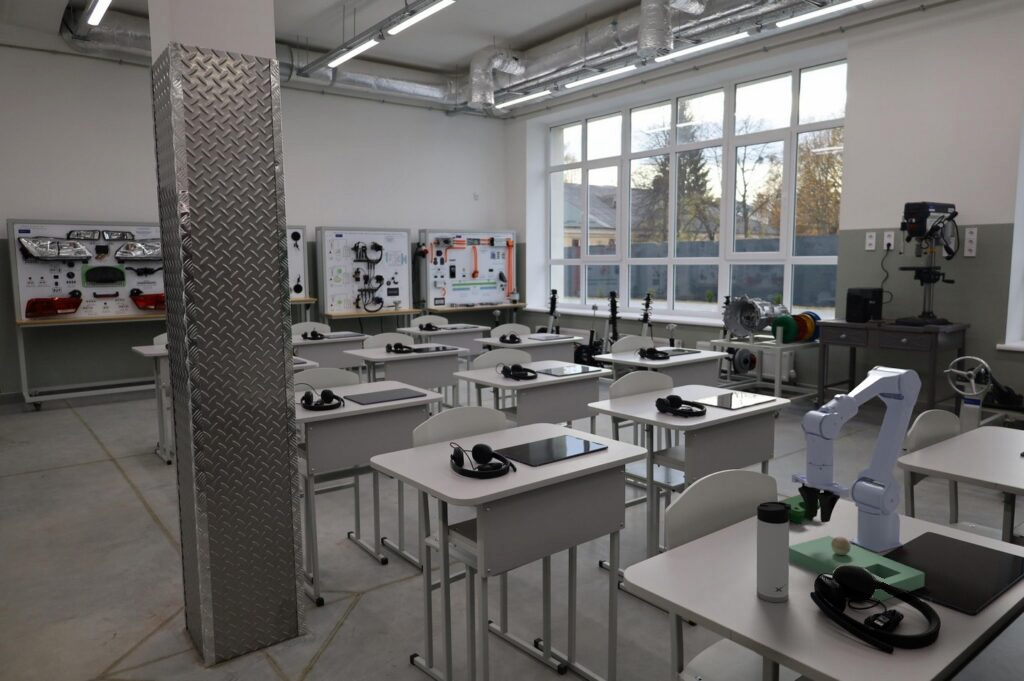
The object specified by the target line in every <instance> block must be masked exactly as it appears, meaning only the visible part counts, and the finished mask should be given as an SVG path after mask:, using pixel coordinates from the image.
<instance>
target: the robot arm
mask: <svg viewBox="0 0 1024 681" xmlns="http://www.w3.org/2000/svg"><path fill="white" fill-rule="evenodd" d="M866 374H867V376H866V378H865V379H864V380H862V381H861V383H860V384H859V385H857V386H856V387H855V388H853V390H851V392H849V393H848V394H844V393H841V394H835V395H834V396H833V399H831V400H830V401H829V402H827V403H826V404H824V405H822V406H820V407H819V409H818V410H810V411H808V412H806V413H805V415H804V416H803V418H802V422H800V428H801V431H802V432H803V434H804V440H805V442H806V453H805V454H806V461H805V463H806V465H805V466H806V467H805V468H806V472H805V473H804V474H803V473H799V472H796V473H791V482H792V483H798V484H802V485H801V486H798V488H797V491H798V493H799V495H800V494H801V496H802V498H803V500H804V503H805V506H806V509H807V513H808V517H810V518H812V517H814V518H816V517H817V516H818V511H819V510H820V522H822V523H824V524H825V523H828V522H830V521H831V517H832V514H833V511H834V509H835V506H836V505H837V502H838V501H839V499H840V498H841V499H846V498H849V497H850V499H851V500H852V501H853V502H854V503H855V504H854V506H855V507H857V527H856V528H857V535H856V537H854V538H850V539H849V540H848V541H849V543H850V544H853V545H856V546H858V547H862V548H863V549H866V550H867V549H868V550H870V551H871V552H872V551H873V552H874V553H875V552H876V553H880V552H883V551H888V550H891V549H894V548H898V547H901V546H903V544H904V543H903V542H900V534H901V533H900V528H901V519H900V516H899V514H898V512H897V509H898V507H899V505H900V501H901V496H900V493H901V488H902V485H901V483H900V482H899V481H898V479H897V478H896V477H895V475H894V472H895V470H896V466H897V462H898V459H899V456H900V453H901V450H902V447H903V444H904V440H905V437H906V434H907V430H908V427H909V423H910V420H911V416H912V413H913V410H914V406H916V403H917V400H918V396H919V393H920V391H921V388H922V387H921V386H922V381H921V379H920V376H919V374H918V373H917V372H916V371H915V370H914V369H902V368H893V367H887V366H883V365H876V366H874V367H873V368H872V369H871V370H869V371H868V372H867V373H866ZM876 396H877V397H878V398H879V399H880V400H881V401H883V402H884V403H885V405H886V410H885V414H884V418H883V421H882V424H881V426H880V427H881V428H880V429H879V434H878V438H877V440H876V443H875V447H874V450H873V453H872V457H871V460H870V463H869V465H868V466H869V467H867V468H864V469H861V471H858V472H857V476H856V478H855V479H854V481H853V482H852V483H851V486H850V487H847V486H843V485H842V484H840V483H838V482H836V481H834V438H836V437H837V436H838V435H839V432H840V431H841V428H842V427H843V425H844V424H845V423H846V422H848V421H849V420H850V419H852V418H853V417H854V416H856V415H857V414H858V413H859V407H860V406H861V405H863V404H864V403H866V402H867V401H870V400H871V399H873V398H874V397H876ZM878 482H879V483H878ZM822 491H823V492H822ZM818 501H819V503H820V509H818Z"/></svg>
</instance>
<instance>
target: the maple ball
mask: <svg viewBox="0 0 1024 681" xmlns="http://www.w3.org/2000/svg"><path fill="white" fill-rule="evenodd" d="M833 538H834V539H833V540H832V542H831V547H832V550H833V551H834V552H835V553H836V554H838V555H846V554H847V553H849V551H850V548H851V546H850V544H851V542H849V540H848V539H847V538H845V537H842V536H836V537H833Z"/></svg>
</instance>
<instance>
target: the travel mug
mask: <svg viewBox="0 0 1024 681" xmlns="http://www.w3.org/2000/svg"><path fill="white" fill-rule="evenodd" d="M756 510H757V512H756V513H757V514H756V515H757V516H756V595H757V597H759V598H760V600H764V601H766V602H769V603H783V602H786V601H788V599H789V596H790V595H789V589H790V588H789V587H790V586H789V584H790V583H789V582H790V579H789V578H790V574H789V573H790V572H789V571H790V570H789V569H790V567H789V566H790V560H789V546H790V520H789V510H791V505H790V504H786V503H783V502H779V501H765V502H762V503H760V504H759V505H758V506H757V507H756Z"/></svg>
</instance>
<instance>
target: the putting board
mask: <svg viewBox="0 0 1024 681" xmlns="http://www.w3.org/2000/svg"><path fill="white" fill-rule="evenodd" d="M834 538H835V537H833V536H830V535H826V536H823V537H819V538H814V539H811V540H807V541H804V542H801V543H797V544H792V545H789V562H792V563H794V564H797V565H798V566H799V565H800V566H801V567H803V568H805V569H808V570H810V571H812V572H815V573H817V574H819V575H821V574H823V573H829V574H833V571H834V570H835V569H836V568H837V567H839V566H841V565H856V566H860V567H863V568H865V569H867V570H868V571H870V572H871V574H872V575H873V576H874V577H875V578H876V579H877V580H879V581H881V582H884V583H886V584H888V585H891V586H894V587H898V588H902V589H905V590H908V591H909V592H911V591H912V592H913V591H916V590H917V589H921V588H923V587H925V580H926V578H925V573H926V572H924V571H921V570H918V569H915V568H913V567H911V566H907V565H905V564H903V563H901V562H897V561H895V560H892V559H890V558H887V557H884V556H882V555H879V554H877V553H875V552H872V551H869V550H867V549H865V548H863V547H862V548H861V547H860V546H857V545H855V544H852V543H850V546H851V548H850V551H849V553H847V554H846V555H838V554H836V553H835V552H834V551H833V550H832V547H831V542H832V540H833V539H834ZM877 575H880V576H882V577H884V578H885V579H884V578H881V577H879V576H877ZM874 598H875V599H874ZM891 598H893V597H892V596H891V595H890V594H888V593H887V592H885V591H884V590H882V589H877V590H876V591H875V592H874V595H873V598H872V599H874V600H876V599H877V600H876V601H878V600H880V601H879V602H883V601H885V600H888V599H891Z"/></svg>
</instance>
